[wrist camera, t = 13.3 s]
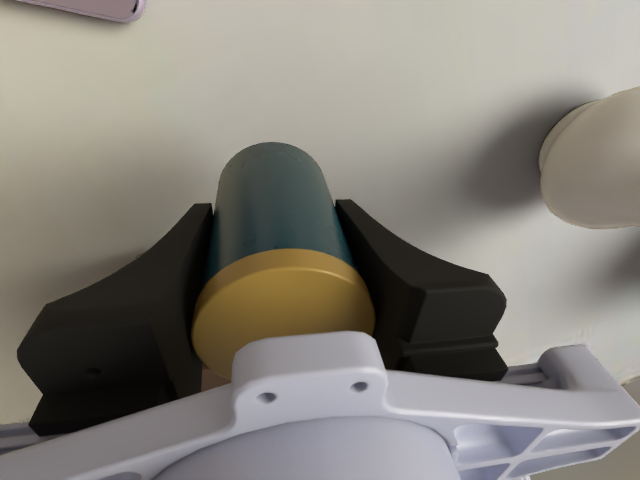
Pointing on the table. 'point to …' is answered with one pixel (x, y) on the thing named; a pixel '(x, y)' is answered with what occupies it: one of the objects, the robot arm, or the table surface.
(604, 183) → the flower vase
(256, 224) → the tin
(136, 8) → the mobile phone
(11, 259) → the table surface
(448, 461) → the robot arm
